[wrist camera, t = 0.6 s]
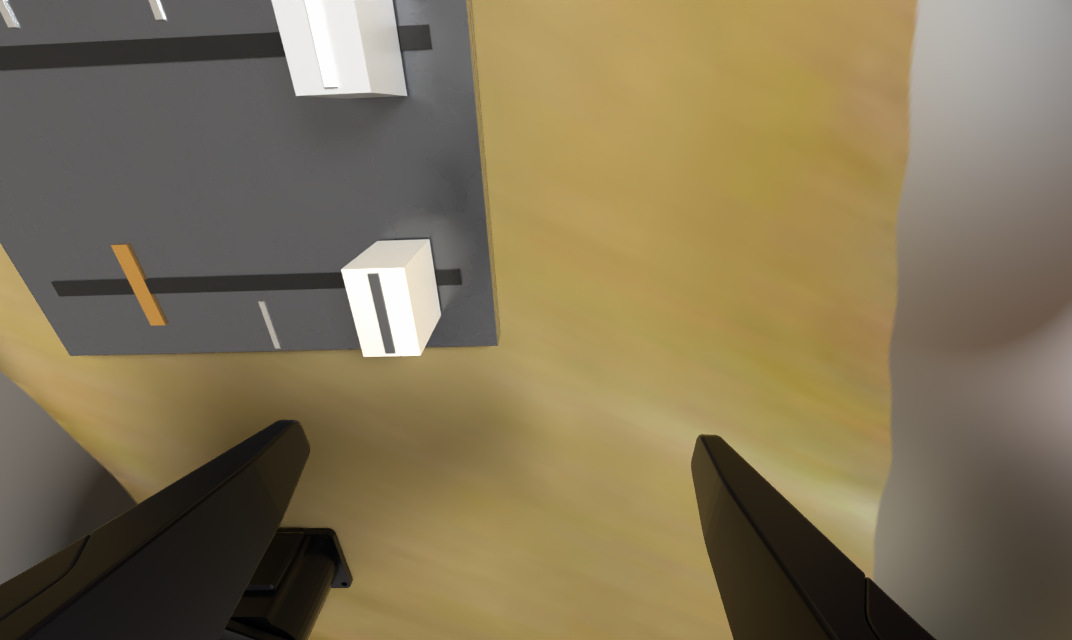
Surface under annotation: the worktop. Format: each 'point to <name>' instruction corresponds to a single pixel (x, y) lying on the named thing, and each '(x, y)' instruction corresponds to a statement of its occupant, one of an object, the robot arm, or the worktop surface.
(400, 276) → the block
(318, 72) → the block white
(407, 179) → the panel
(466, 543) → the worktop surface
